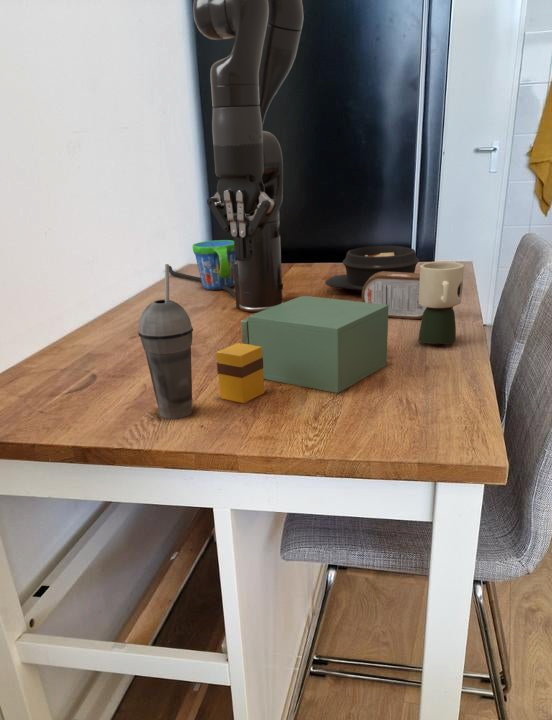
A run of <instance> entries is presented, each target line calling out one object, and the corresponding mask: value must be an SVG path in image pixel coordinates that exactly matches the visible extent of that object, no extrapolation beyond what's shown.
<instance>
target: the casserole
mask: <svg viewBox="0 0 552 720" xmlns="http://www.w3.org/2000/svg"><path fill="white" fill-rule="evenodd" d="M419 262H420V259H419V258H418V257H417V253H416V250H415V249H414V248H411V247H408V246H400V245H370V246H361V247H357V248H354V249H350V250H348V251H347V252H346V255H345V258H344V259H343V260H342V264H343V265H344V268H345V272H346V274H339V275H334V276H331V277H329V278H327V279H326V280H325V282H324V284H325V285H326V286H328V287H329V288H335V289H347V290H352V291H354V292H356V293H360V294H362V289H363V286H364V285H365V283H366V282H367V281H368V279H369V278H370V277H371V276H372V275H374V274H375V273H378V272H383V271H384V272H403V273H416V266H417V264H418V263H419Z"/></svg>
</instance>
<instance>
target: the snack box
mask: <svg viewBox="0 0 552 720" xmlns="http://www.w3.org/2000/svg"><path fill="white" fill-rule="evenodd" d="M215 354H216V370H217V371H216V372H217V374H218V384H219V385H218V387H219V393H220V394H219V397H220V399H221V400H227V401H232V402H235V403H240V404H246V403H247V402H249V401H252V400H253V399H255V398H257V397H259V396H261V395H263V394H265V385H264V384H265V381H264V380H265V379H263V357H262V347H260V346H254V345H248V344H242V342H236V343H235V344H232V345H229V346H226V347H225V348H222V349H220V350H218V351H216V353H215Z"/></svg>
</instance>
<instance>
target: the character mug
mask: <svg viewBox="0 0 552 720" xmlns="http://www.w3.org/2000/svg"><path fill="white" fill-rule="evenodd" d="M419 273H420V283H419V304H420V305H422V306H424V307H427V308H426V309H425V310H424V312H423V316H422V319H421V321H420V326H419V333H418V341H419V343H420V342H421V343H424V344H436V346H439V347H440V346H441V344H443V345H450V344H453V343H455V342H456V341H457V327H456V325H457V324H456V313H455V310H454V307H456V306H459V305H460V304H461V303H462V299H463V287H464V276H465V275H464V273H465V264H464V263H462V262H458V261H457V262H456V261H431V262H425V263H422V264H420V269H419Z"/></svg>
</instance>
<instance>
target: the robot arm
mask: <svg viewBox="0 0 552 720" xmlns="http://www.w3.org/2000/svg"><path fill="white" fill-rule="evenodd" d="M192 5H193V6H192V11H193V19H194V23H195V25H196V27H197V29H198V31H199V32H200V34H202V35H203V36H204V37H206V38H207V39H209V40H214V41H222V40H233V39H234V43H233V47H232V50H231V53H230V54H229V55H228V56H227V57H224V58H222V59H219V60H217V61H214V63H213V64H212V65H211V68H210V86H211V88H210V90H211V102H212V119H211V131H212V143H213V159H214V173H215V175H216V177H218V182H217V185H216V190H217V191H216V192H215V194H214V195H213V196H212V197H208V198H207V199H206V204H207V206H208V208H209V209H210V211H211V213H212V214H213V216H214V217H215V220H216V221H217V223H218V224H219V226H220V227H221V229H222V231H223V232H224V233H229V234H231V236H232V237H233V241H234V247H235V248H234V250H235V256H236V260H235V261H234V262H233V269H234V290H233V288H232V287H230V288H229V287H227V286H225V285H223V286H222V289H221V290H224V292H227V293H228V294H230V295H231V296H232V298H234V299H235V307H236V309H240V310H241V311H243V312H249V313H250V312H251V313H258V312H261V311H263V310H266V309H269V308H271V307H274V306H277V305H279V304H282V303H284V299H283V298H284V297H283V289H284V284H283V273H282V249H281V248H282V247H281V229H280V224H281V223H280V211H281V207H282V205H283V198H284V194H283V193H284V161H283V152H282V148H281V145H280V143H279V140H278V139H277V137H276V136H275V135H274V134H273V133H271V132H270V131H267V130H263V128H264V127H263V126H264V123H265V118H266V115H267V112H268V109H269V107H270V105H271V103H272V101H273V100H274V98H275V96H276V95H277V93H278V91H279V90H280V88H281V86H282V84H283V83H284V81H285V80H286V79H287V77H288V75H289V74H290V71H291V69H292V68H293V65H294V63H295V60H296V57H297V52H298V49H299V44H300V39H301V34H302V29H303V26H304V18H305V17H304V15H305V14H304V6H303V0H193V3H192ZM169 275H172V276H175V277H179V278H183V279H186V280H191V281H196V282H199V283H202V281H201V277H199V276H196V275H195V276H194V275H191V274H186V273H182V272H177V271H174V270H173V267H172V265H169Z"/></svg>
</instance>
